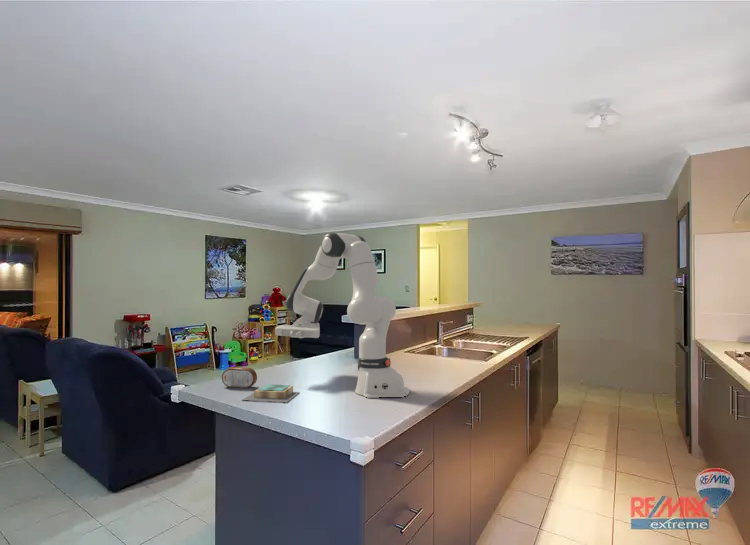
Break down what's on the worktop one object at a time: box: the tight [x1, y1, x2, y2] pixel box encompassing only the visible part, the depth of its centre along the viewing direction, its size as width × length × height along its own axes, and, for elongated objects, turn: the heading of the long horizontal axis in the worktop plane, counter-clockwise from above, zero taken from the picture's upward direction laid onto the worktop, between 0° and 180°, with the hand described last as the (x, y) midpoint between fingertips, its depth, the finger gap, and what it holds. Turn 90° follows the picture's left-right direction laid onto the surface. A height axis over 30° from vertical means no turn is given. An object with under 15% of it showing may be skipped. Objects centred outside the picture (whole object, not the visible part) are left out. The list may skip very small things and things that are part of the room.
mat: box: [242, 391, 300, 404], centre depth 146 cm, size 18×13×1 cm
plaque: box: [253, 383, 294, 399], centre depth 148 cm, size 12×3×10 cm
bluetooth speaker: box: [221, 366, 258, 388], centre depth 160 cm, size 15×3×8 cm, turn 84°
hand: (293, 335), depth 164 cm, fingers closed
